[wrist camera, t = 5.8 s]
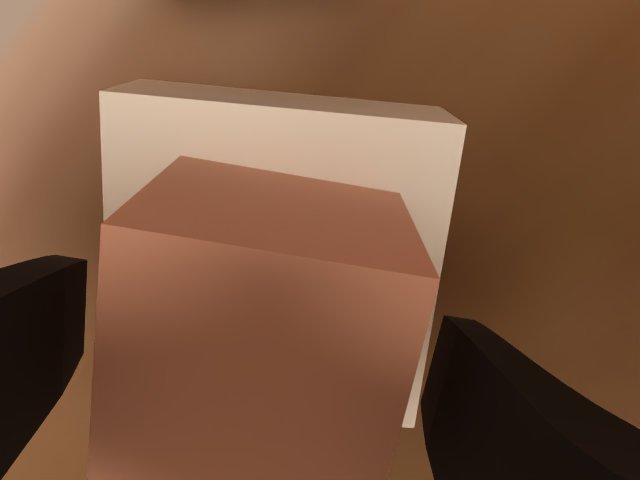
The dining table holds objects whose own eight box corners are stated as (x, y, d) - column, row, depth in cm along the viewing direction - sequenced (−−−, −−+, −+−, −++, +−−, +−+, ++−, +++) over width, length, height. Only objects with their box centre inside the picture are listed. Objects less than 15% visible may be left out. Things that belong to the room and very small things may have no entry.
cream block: (437, 104, 16) (467, 125, 13) (398, 358, 19) (414, 427, 16) (144, 77, 16) (99, 90, 13) (146, 337, 19) (109, 404, 16)
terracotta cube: (357, 381, 15) (373, 538, 10) (161, 350, 15) (86, 497, 10) (399, 193, 14) (440, 279, 9) (180, 155, 13) (100, 223, 9)
